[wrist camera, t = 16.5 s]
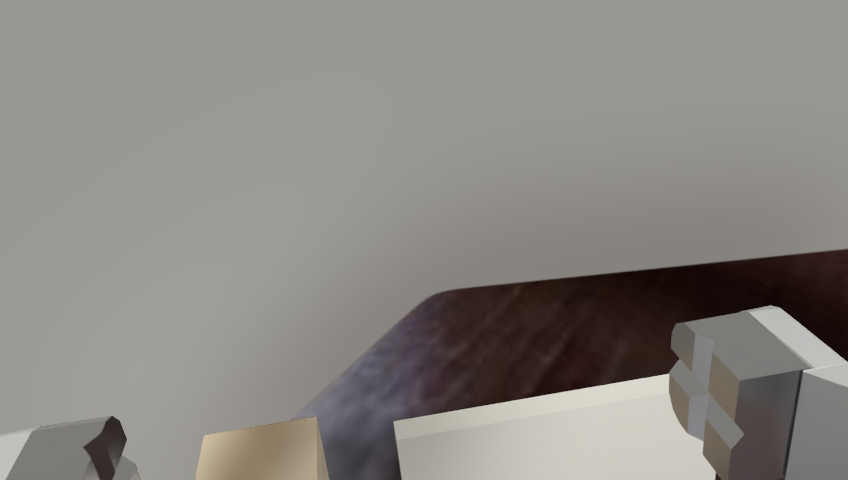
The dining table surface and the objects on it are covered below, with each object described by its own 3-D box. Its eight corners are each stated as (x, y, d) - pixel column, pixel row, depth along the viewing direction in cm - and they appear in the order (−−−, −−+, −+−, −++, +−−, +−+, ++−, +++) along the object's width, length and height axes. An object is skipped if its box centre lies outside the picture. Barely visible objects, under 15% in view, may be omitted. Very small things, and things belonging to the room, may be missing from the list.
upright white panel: (698, 499, 43) (711, 366, 39) (710, 518, 42) (725, 382, 38) (412, 554, 42) (393, 421, 38) (415, 575, 40) (396, 440, 36)
